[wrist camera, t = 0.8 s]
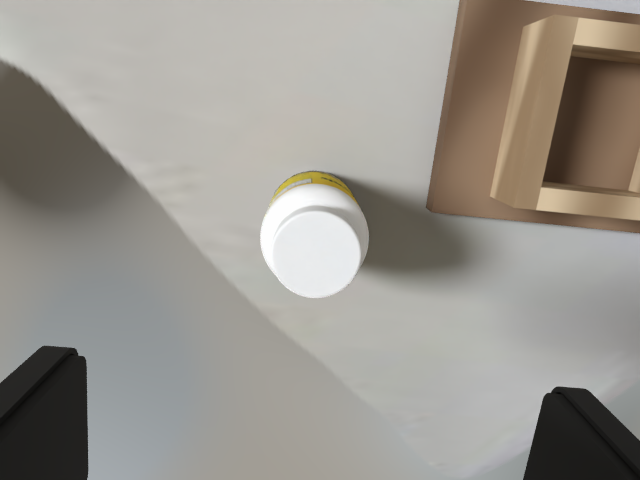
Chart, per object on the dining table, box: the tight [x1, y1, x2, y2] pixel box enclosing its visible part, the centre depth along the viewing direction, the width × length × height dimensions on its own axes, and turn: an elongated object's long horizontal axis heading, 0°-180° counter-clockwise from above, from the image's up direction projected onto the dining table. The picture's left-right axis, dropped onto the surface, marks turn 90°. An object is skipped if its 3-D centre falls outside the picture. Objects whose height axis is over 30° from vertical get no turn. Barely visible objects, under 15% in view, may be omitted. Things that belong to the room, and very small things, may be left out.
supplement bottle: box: [260, 171, 369, 298], centre depth 26 cm, size 5×5×10 cm
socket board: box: [426, 0, 640, 233], centre depth 27 cm, size 16×12×5 cm
